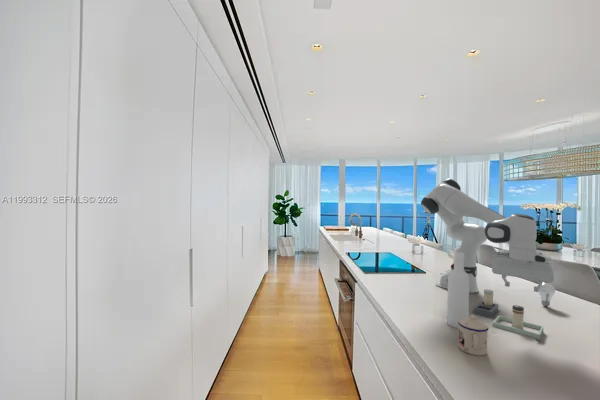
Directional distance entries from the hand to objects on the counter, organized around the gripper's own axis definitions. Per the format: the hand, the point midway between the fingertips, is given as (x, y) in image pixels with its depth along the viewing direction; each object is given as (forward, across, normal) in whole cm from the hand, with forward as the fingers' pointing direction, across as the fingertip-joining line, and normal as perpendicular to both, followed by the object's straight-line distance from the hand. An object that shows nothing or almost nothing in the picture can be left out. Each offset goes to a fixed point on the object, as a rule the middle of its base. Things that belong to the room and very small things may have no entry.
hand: (521, 288), depth 119 cm
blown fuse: (+16, -1, -1) cm, 16 cm away
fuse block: (+17, -14, +10) cm, 24 cm away
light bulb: (+18, +4, +45) cm, 49 cm away
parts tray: (+17, -1, -1) cm, 17 cm away
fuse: (+16, -14, +14) cm, 25 cm away
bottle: (+17, -20, -14) cm, 29 cm away
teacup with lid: (+17, -9, -34) cm, 39 cm away
